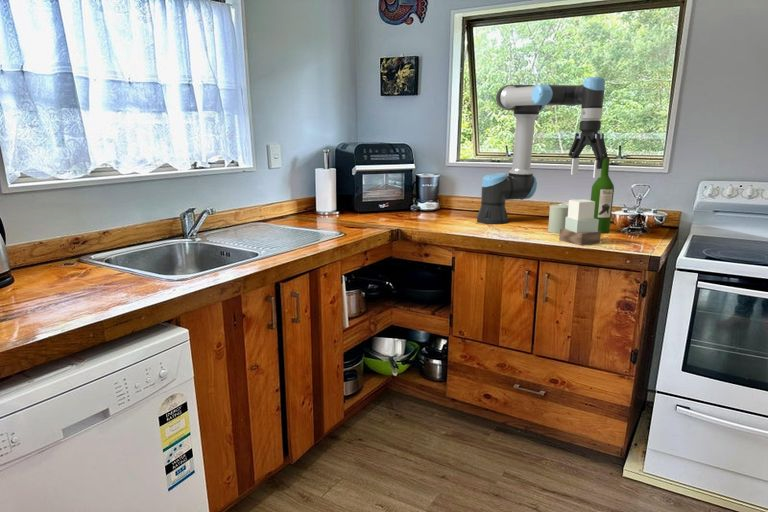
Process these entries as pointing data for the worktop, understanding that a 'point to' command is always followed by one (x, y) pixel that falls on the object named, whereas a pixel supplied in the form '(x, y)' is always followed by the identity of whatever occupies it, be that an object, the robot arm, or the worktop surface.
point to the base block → (579, 237)
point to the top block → (581, 225)
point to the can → (557, 218)
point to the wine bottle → (603, 198)
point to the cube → (581, 209)
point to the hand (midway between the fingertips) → (585, 176)
